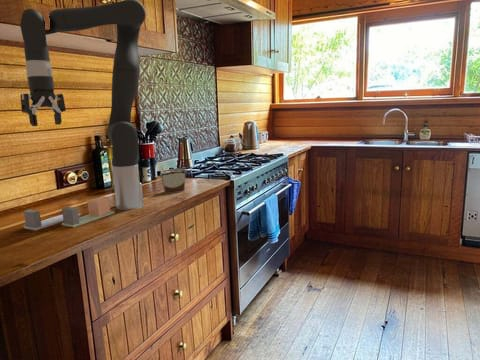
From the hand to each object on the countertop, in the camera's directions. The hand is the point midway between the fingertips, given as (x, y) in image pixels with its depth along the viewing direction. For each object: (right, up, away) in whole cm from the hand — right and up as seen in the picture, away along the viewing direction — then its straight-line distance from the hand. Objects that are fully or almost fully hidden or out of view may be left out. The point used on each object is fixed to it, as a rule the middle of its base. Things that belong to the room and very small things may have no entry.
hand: (46, 125), depth 125 cm
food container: (+35, -24, +44) cm, 61 cm away
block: (+16, -30, +5) cm, 35 cm away
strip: (+3, -33, -1) cm, 33 cm away
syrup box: (+9, -23, +52) cm, 57 cm away
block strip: (+14, -32, +1) cm, 35 cm away
